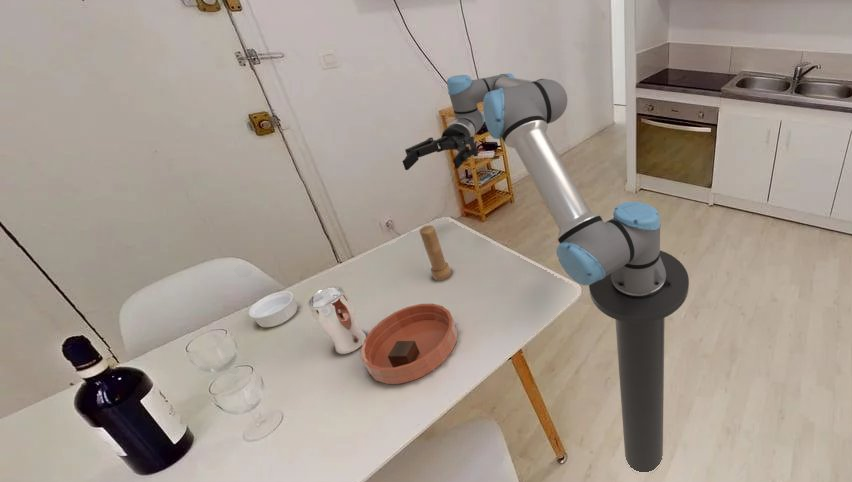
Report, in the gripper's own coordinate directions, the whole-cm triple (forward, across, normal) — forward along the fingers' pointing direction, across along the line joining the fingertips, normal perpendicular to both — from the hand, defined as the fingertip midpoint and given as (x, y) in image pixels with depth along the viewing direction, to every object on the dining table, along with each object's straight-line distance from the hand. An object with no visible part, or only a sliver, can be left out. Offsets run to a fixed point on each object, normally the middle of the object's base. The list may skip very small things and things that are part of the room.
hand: (430, 165), depth 110 cm
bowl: (+36, -3, -30) cm, 47 cm away
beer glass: (+34, +12, -30) cm, 47 cm away
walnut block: (+39, -3, -29) cm, 49 cm away
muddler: (+11, 0, -30) cm, 32 cm away
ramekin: (+24, +36, -30) cm, 53 cm away
